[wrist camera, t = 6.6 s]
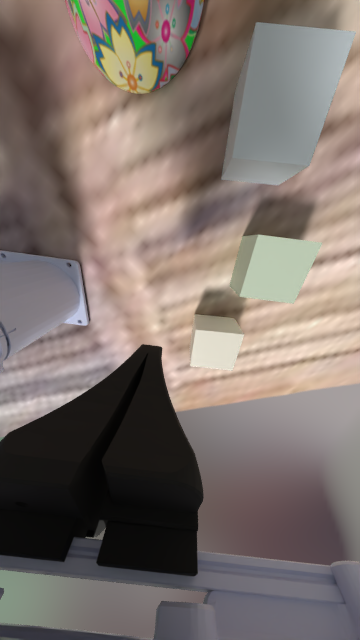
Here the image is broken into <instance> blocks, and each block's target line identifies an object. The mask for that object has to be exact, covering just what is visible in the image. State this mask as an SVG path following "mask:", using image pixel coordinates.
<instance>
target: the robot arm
mask: <svg viewBox="0 0 360 640" xmlns="http://www.w3.org/2000/svg"><path fill="white" fill-rule="evenodd" d="M5 255H6V256H5ZM69 263H70V264H71V266H69ZM80 320H81V321H82V322H81V321H80ZM62 323H70V324H77V325H87V324H89V318H88V312H87V305H86V299H85V293H84V287H83V281H82V275H81V269H80V264H79V263H78V262H77V261H75V260H69V259H62V258H54V257H47V256H39V255H32V254H25V253H17V252H10V251H3V250H0V373H1V372H2V371H4V368H3V361H4V360H6V359H7V358H9V357H10V356H12V355H13V354H15V353H17V352H18V351H20V350H21V349H23V348H24V347H26V346H27V345H29V344H31V343H32V342H34V341H35V340H37V339H38V338H40V337H41V336H43V335H44V334H46V333H48V332H49V331H51V330H52V329H54V328H55V327H57V326H58V325H60V324H62ZM161 357H162V347H159V346H152V345H144V344H143V345H141V346H140V347H139V348H138V349H137V350H136V352H135V353H134V354H133V355H132V356H131V357H129V358H128V359H127V360H126V361H125V362H124V363H123V364H122V365H121V366H120V367H118V368H117V369H116V370H115V371H114V372H113V373H111V374H110V375H109V376H108V377H106V378H105V379H104V380H102V381H101V382H100V383H98V384H97V385H95V386H94V387H92V388H91V389H89V390H88V391H86V392H85V393H83V394H82V395H80V396H79V397H77V398H75V399H74V400H72V401H70V402H68V403H67V404H65V405H63V406H61V407H60V408H58V409H56V410H54V411H52V412H50V413H48V414H47V415H45V416H43V417H41V418H39V419H36V420H34V421H32V422H30V423H28V424H26V425H24V426H22V427H20V428H18V429H16V430H14V431H11V432H9V433H8V434H7V435H6V436H5V437H4V438H3V439H2V440H1V441H0V570H8V571H17V572H26V573H35V574H44V575H53V576H63V577H72V578H81V579H90V580H100V581H108V582H117V583H126V584H136V585H145V586H154V587H163V588H173V589H181V590H190V591H191V590H192V591H200V592H209V593H207V595H206V596H205V598H204V602H203V604H199V603H186V602H185V603H184V602H167V601H161V603H160V605H159V606H158V608H157V612H156V623H155V624H156V625H155V634H154V639H150V638H142V637H134V636H126V635H118V634H109V633H100V632H92V631H82V630H72V629H62V628H52V627H41V626H30V625H19V624H8V623H0V640H360V562H356V561H339V562H335V563H332V564H331V566H327V565H318V564H309V563H300V562H292V561H283V560H273V559H265V558H256V557H247V556H239V555H230V554H221V553H211V552H202V551H197V531H198V509H199V507H200V505H201V503H202V502H203V487H202V481H201V476H200V472H199V468H198V464H197V461H196V457H195V453H194V451H193V449H192V447H191V445H190V443H189V442H188V439H187V438H186V436H185V434H184V431H183V429H182V427H181V425H180V423H179V420H178V418H177V415H176V413H175V410H174V408H173V405H172V403H171V400H170V397H169V394H168V390H167V387H166V383H165V379H164V374H163V368H162V360H161ZM105 528H106V530H105V534H104V537H103V540H97V539H87V538H85V537H94V536H95V537H97V536H98V535H99V534H100V533H101V532H102V531H103V530H104V529H105ZM3 593H4V589H3V588H0V599H1V597H2V595H3Z"/></svg>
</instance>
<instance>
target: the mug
mask: <svg viewBox="0 0 360 640" xmlns="http://www.w3.org/2000/svg"><path fill="white" fill-rule="evenodd" d="M65 2H66V6H67V9H68V12H69V15H70V18H71V21H72V24H73V26H74V29H75V32H76V34H77V36H78V38H79V40H80V42H81V44H82V46H83V48H84V50H85V52H86V53H87V55H88V57H89V58H90V60H91V61H92V62H93V64H94V65H95V66H96V68H97V69H98V70H99V71H100V72H101V74H102V75H103V76H104V77H105V78H106V79H107V80H109V81H110V82H111V83H112V84H114V85H115V86H117V87H118V88H120V89H122V90H124V91H127V92H130V93H135V94H145V93H150V92H153V91H156V90H158V89H160V88H161V87H163V86H164V85H166V84H167V83H168V82H169V81H170V80H171V79H172V78H173V77H174V76H175V75H176V74H177V72H178V71H179V70H180V68H181V67H182V65H183V64H184V62H185V60H186V58H187V57H188V55H189V52H190V50H191V48H192V46H193V43H194V40H195V37H196V34H197V31H198V28H199V24H200V19H201V15H202V11H203V5H204V0H65Z"/></svg>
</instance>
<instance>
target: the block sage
mask: <svg viewBox="0 0 360 640" xmlns="http://www.w3.org/2000/svg"><path fill="white" fill-rule="evenodd" d="M321 245H322V243H320V242H312V241H304V240H297V239H289V238H281V237H274V236H266V235H249V236H242V240H241V244H240V248H239V251H238V255H237V259H236V263H235V267H234V270H233V274H232V278H231V282H230V287H231V288H232V289H233V290H234V291H235V293H236V294H237V295H238V296H239V297H245V298H253V299H261V300H269V301H277V302H285V303H293V304H294V302H295V300H296V297H297V295H298V293H299V291H300V289H301V287H302V285H303V283H304V281H305V279H306V276H307V274H308V272H309V270H310V268H311V266H312V264H313V262H314V260H315V258H316V255H317V253H318V251H319V249H320V247H321Z"/></svg>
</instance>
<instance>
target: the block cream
mask: <svg viewBox="0 0 360 640" xmlns="http://www.w3.org/2000/svg"><path fill="white" fill-rule="evenodd" d="M243 337H244V333H243V332H242V330H241V328H240V327H239V325H238V324H237V322H236V320H235V319H234V318H228V317H219V316H209V315H199V314H194V320H193V327H192V334H191V341H190V366H192V367H202V368H212V369H221V370H231V371H232V370H233V367H234V364H235V361H236V358H237V355H238V352H239V349H240V346H241V343H242V340H243Z"/></svg>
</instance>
